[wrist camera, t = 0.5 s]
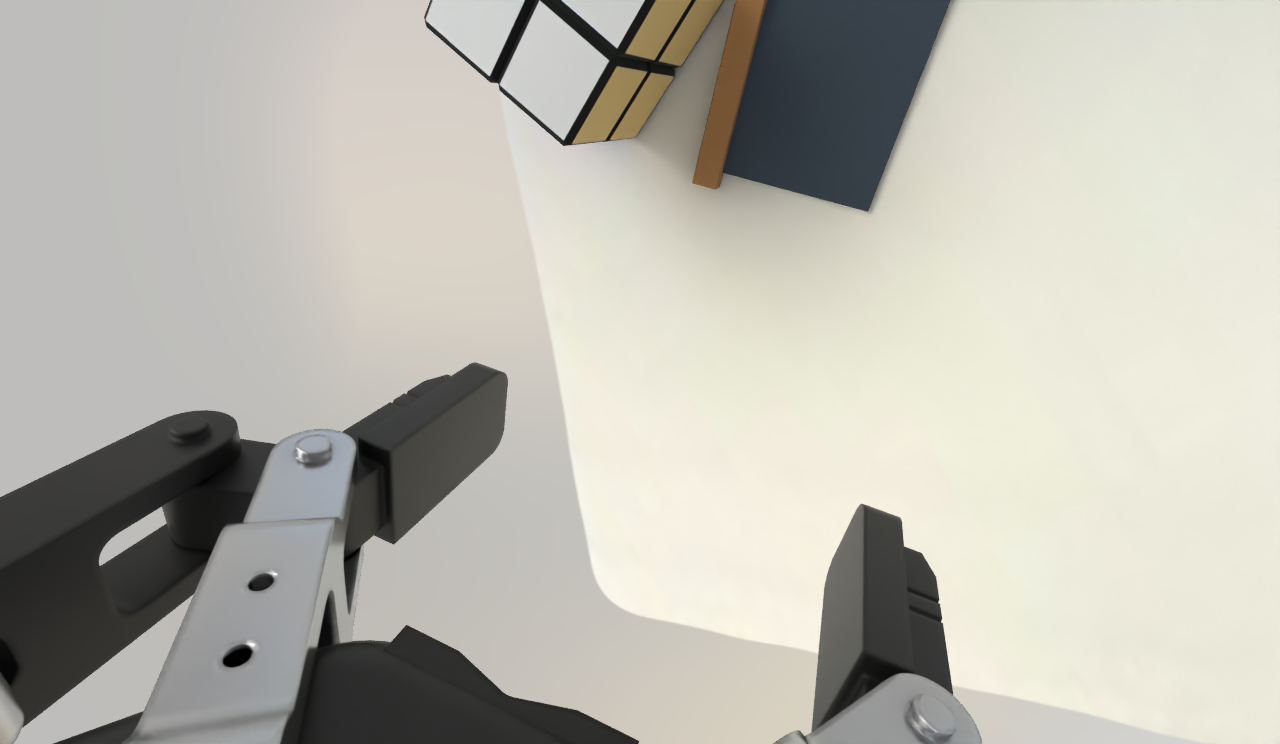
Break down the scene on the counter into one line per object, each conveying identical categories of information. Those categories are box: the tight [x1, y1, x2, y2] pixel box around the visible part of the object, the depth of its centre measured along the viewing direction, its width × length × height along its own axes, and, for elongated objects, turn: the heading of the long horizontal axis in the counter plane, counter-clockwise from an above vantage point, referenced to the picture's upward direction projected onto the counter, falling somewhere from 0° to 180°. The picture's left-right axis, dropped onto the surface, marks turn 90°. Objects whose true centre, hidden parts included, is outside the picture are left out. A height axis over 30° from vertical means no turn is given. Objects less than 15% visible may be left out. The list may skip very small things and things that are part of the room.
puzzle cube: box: [424, 0, 723, 146], centre depth 31 cm, size 10×10×10 cm
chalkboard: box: [693, 0, 950, 211], centre depth 31 cm, size 21×11×1 cm, turn 168°
